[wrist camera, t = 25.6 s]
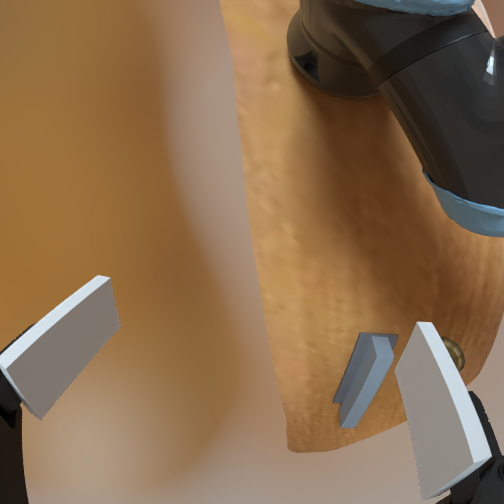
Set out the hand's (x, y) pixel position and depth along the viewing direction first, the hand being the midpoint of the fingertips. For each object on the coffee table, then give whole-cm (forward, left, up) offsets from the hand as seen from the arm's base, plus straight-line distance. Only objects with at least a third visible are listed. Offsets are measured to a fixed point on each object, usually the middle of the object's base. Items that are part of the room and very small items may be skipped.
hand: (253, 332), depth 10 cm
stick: (+29, +18, -26) cm, 43 cm away
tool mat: (+28, +18, -27) cm, 42 cm away
